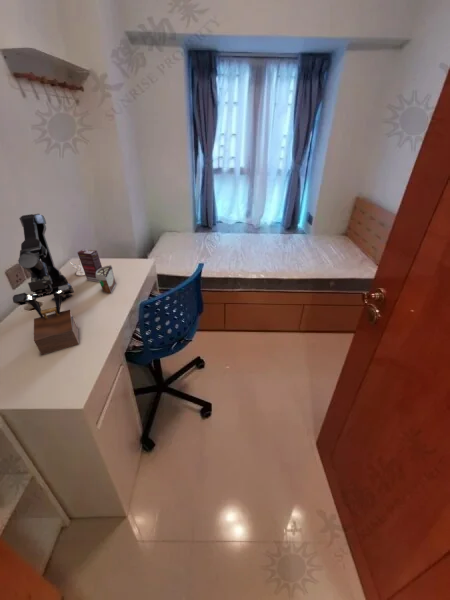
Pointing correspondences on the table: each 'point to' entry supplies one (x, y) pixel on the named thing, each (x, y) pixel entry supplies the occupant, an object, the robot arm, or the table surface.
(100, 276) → the food container
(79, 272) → the shell
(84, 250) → the supplement box
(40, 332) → the brown wooden lid
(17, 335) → the table surface
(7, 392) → the table surface
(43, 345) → the caddy
